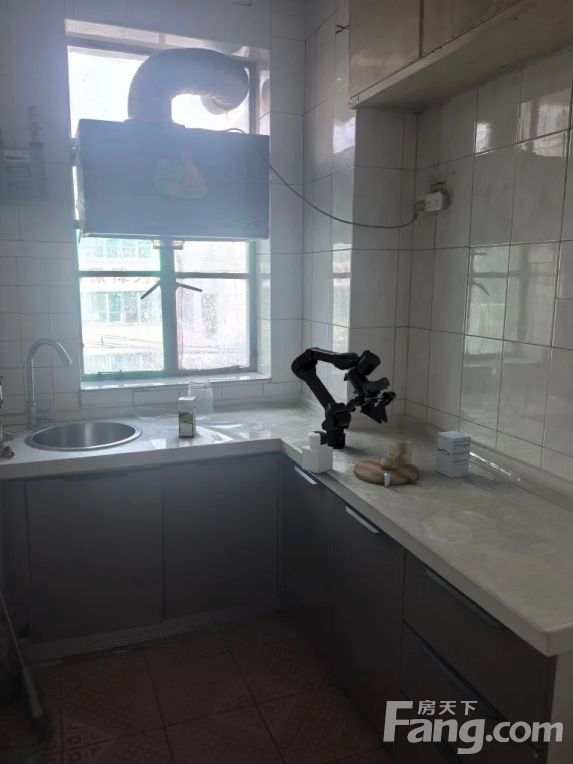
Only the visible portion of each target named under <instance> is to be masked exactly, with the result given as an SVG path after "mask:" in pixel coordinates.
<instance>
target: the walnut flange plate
mask: <svg viewBox="0 0 573 764" xmlns="http://www.w3.org/2000/svg"><path fill="white" fill-rule="evenodd" d="M389 445H390V446H389V457H382V458H371V459H370V458H369V459H365V460H361V461H359V462H357V463H355V465H354V467H353V474H354V475H355V476H356V477H357V478H359V479H360V480H362V481H365V482H369V483H373V484H378V485H384V478H385V473H390V486H392V485H395V486H397V485H405V484H412V485H416V484H418V483H417V482H418V479H420V472H421V470H420V468H419V467H417V466H416V465H415V464H412V450H413V441H412V440H406V441H401V442H397V443H393V444H392V443H391V444H389Z"/></svg>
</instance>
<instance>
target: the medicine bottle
mask: <svg viewBox="0 0 573 764" xmlns="http://www.w3.org/2000/svg"><path fill="white" fill-rule="evenodd" d="M307 436H308V438H307V440H308V441H307V443H308V444H307V445H306V446H302V448H301V469H303V470H305V471H308V472H311V473H315V474H318V475H319V474H322V473H325V472H328V471H329V470H333V466H334V448H332V447H329V446H327V433H326V432H324V431H321V430H314V431H310V432H308V435H307Z"/></svg>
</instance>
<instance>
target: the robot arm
mask: <svg viewBox="0 0 573 764" xmlns="http://www.w3.org/2000/svg"><path fill="white" fill-rule="evenodd" d="M319 361H320V362H323V363H328V364H331V365H333V366H334V368H336V369H337V370H340V371H348V372H345V373H344V376H343V382H349V383H350V384H351V385H352V386H351V387H353V392H352V393H353V395H357V396H352V397H351V398H350V399H349V401H348V402H347V403H344V402H342V401H340V402H337V401H336V400H335V398H334V397H333V396H332V394H331V393H330V392H329V389H327V387H326V386H325V384H324V383H323V382H322V380H321V379H320V377H319V376H318V374H317V365H318V364H319ZM381 362H382V361H381V359H380V356H378V355H377V354H375V353H374V352H371V350H370V349H365V350H364V351H363V352H362V354H361V355H360V356H359V355H358V353H356V352H354V351H353V352H347V351H346V352H337V351H333V350H327V349H324V348H320V347H318V346H315V347H308V348H306V349H305V351H304V352H303V353H301V354H300V355H298V356H297V357H296V358H294V360H292V363H291V364H290V369H291V371H292V373H293V374H294V375H295V376H296V378H298V379H299V380H301V381H303V382H305V384H306V385H307V386H308V387H309V390H310V391H311V392H312V394H313V395H314V397H315V398H316V399H317V401H318V402H319V404H320V405H321V407H322V408H323V410H324V420H323V421H322V423H321V425H320V426H321V429H322V430H323V431H326V432H325V433H327V446H329V447H332V448H333V449H344V448H345V446H346V443H347V441H346V439H347V438H346V437H347V436H346V434H347V433H346V432H345V430H349V427H350V424H351V422H352V414H351V413H355V412H356V411H357V408H356V407H360V410H359V413H360V414H363V415H365V416H367V417H369V418H370V419H372V420H373V421H375V422H376V423H377V424H379V425H381V424H383V422H384V423H385V424H387V423H388V415H387V410H386V407H387V406H389V405H390V404H391V403H392V402H393V401H394V400H395V399H396V398H397V397H398V395H397V394H396V392H395V391H394V390H388V387H390V385H391V383H390V381H389V379H388V378H387V376H384V377H382V378H379V379H377V380H369V378H368V377H369V376H370V375H372V374H373V373H374V372H375V371H376V369H377V368H378V367H379V366H380V365H381ZM383 390H386V391H383ZM382 391H383V393H382ZM380 394H381V395H380Z"/></svg>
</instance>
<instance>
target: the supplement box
mask: <svg viewBox="0 0 573 764" xmlns="http://www.w3.org/2000/svg"><path fill="white" fill-rule="evenodd" d="M471 443H472V436H470V435H468V434H465V433H462V432H460V431H457V430H450V431H444V432H443V431H442V432H437V444H436V459H435V471H436V472H438V473H440V474H442V475H444V476H447V477H448V478H450V479H451V478H458V477H464V476H469V470H470V469H469V468H470V467H469V466H470V454H471Z"/></svg>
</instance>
